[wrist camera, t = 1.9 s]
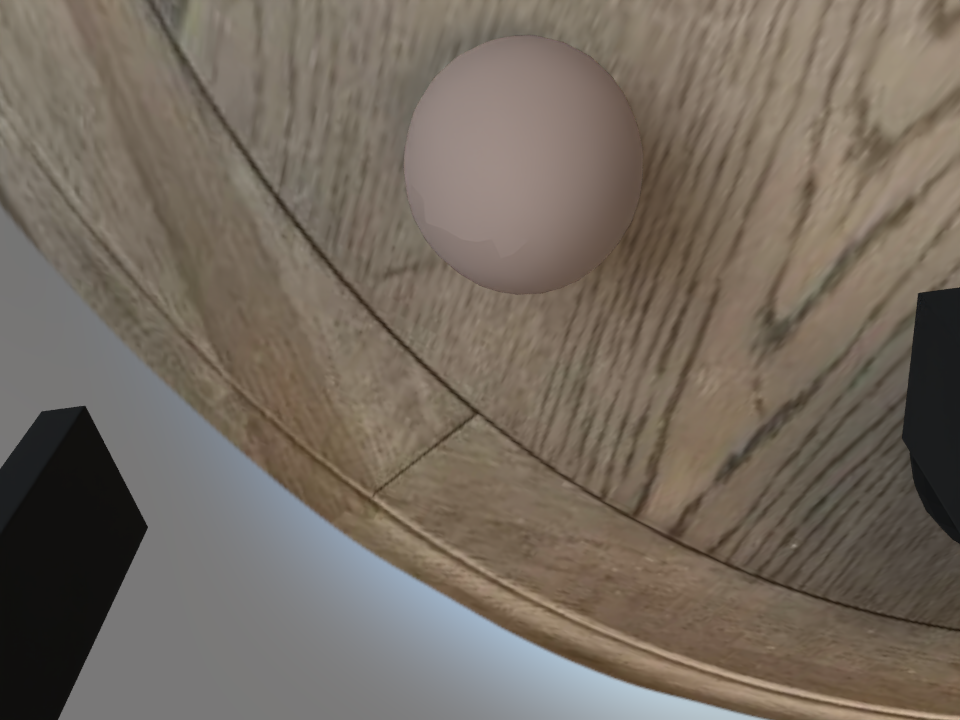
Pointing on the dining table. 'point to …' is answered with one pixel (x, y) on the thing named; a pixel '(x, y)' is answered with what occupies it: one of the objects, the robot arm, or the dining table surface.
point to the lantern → (933, 502)
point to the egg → (523, 164)
